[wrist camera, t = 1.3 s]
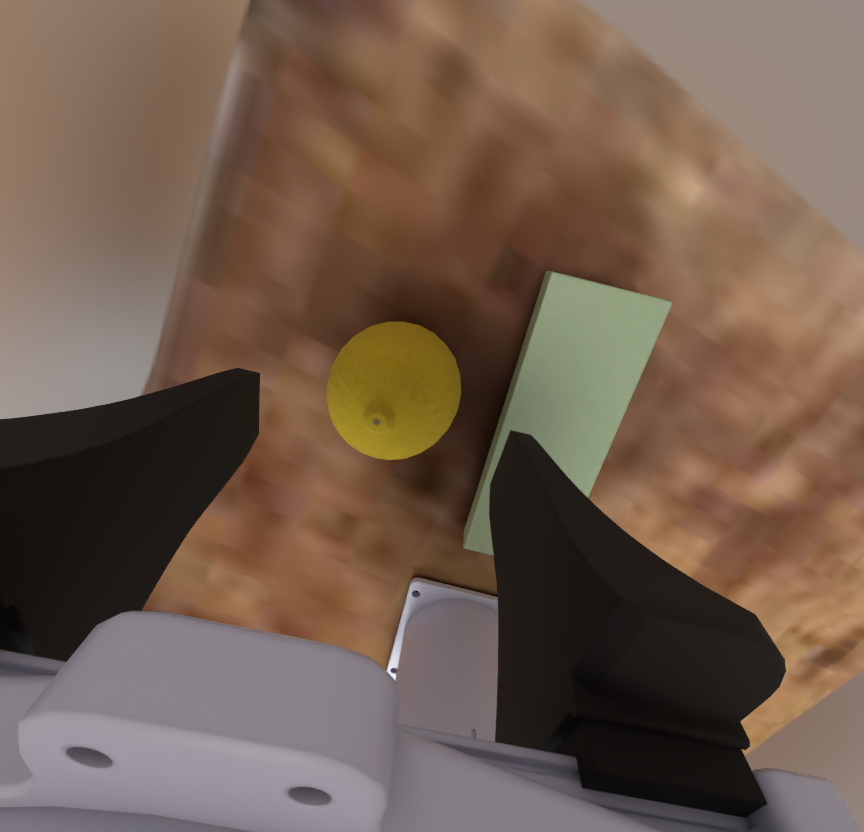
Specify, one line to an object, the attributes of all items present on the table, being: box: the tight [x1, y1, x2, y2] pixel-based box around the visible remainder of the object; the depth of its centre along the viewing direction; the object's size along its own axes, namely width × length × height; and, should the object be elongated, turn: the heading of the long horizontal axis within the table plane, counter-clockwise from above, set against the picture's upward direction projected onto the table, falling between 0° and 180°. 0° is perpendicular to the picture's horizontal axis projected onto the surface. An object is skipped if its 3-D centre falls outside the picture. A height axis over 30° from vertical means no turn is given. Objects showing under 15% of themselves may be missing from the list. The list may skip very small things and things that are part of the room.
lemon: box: [326, 322, 461, 460], centre depth 18 cm, size 6×6×8 cm
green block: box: [463, 271, 672, 556], centre depth 21 cm, size 14×5×3 cm, turn 167°
